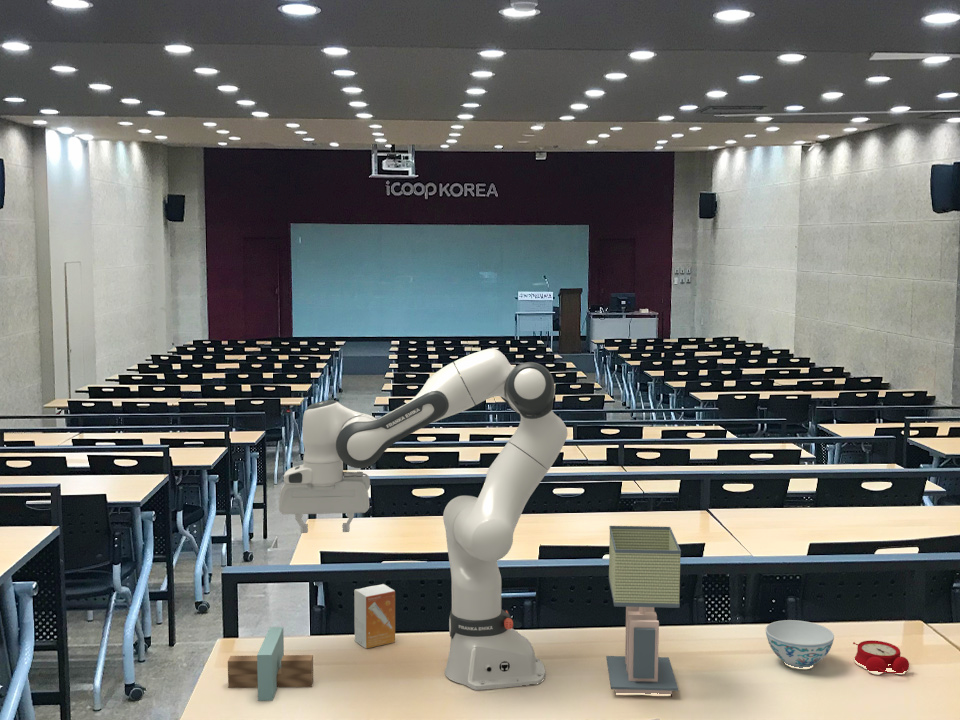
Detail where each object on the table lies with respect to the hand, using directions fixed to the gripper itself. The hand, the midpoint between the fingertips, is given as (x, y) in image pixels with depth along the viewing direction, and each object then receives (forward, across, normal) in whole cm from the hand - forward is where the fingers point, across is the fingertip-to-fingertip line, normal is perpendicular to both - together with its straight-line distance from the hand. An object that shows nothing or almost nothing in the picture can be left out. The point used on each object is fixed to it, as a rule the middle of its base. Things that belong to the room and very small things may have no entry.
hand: (325, 532), depth 240 cm
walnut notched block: (+30, +11, +13) cm, 35 cm away
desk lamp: (+32, -70, +14) cm, 78 cm away
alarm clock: (+33, -126, +8) cm, 130 cm away
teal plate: (+30, +11, +13) cm, 35 cm away
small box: (+31, -10, -11) cm, 34 cm away
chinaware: (+32, -108, +6) cm, 113 cm away
